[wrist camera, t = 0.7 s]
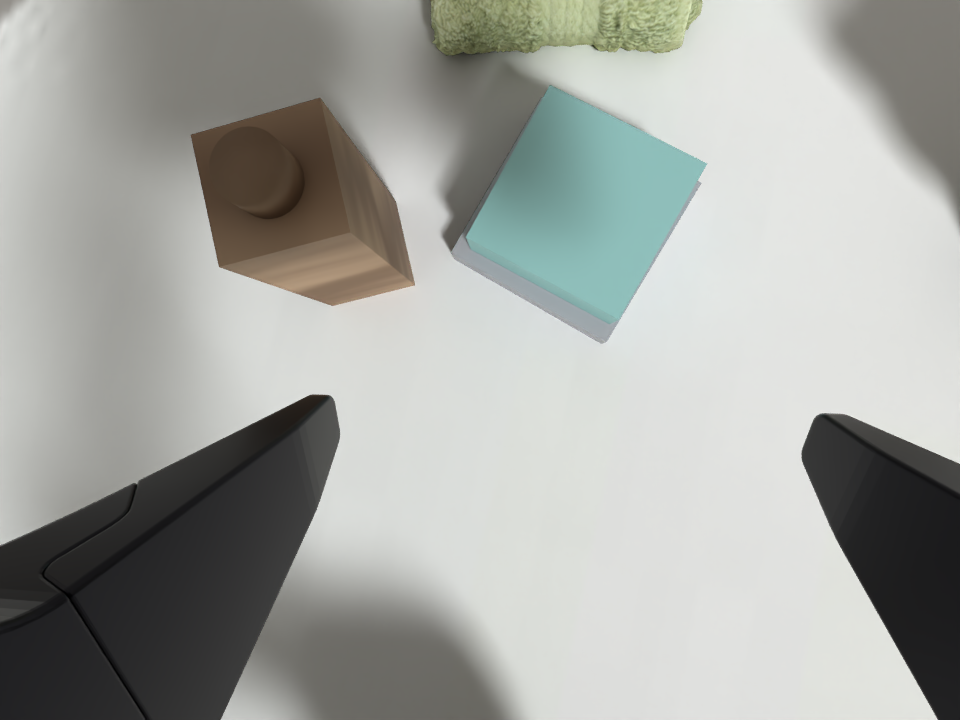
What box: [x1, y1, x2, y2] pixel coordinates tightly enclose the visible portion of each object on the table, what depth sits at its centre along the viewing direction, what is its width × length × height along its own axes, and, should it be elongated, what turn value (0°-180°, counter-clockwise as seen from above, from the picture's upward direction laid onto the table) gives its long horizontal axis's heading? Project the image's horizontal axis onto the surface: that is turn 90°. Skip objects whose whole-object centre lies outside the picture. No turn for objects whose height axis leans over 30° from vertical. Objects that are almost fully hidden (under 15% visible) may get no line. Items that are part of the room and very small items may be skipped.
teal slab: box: [466, 85, 707, 324], centre depth 20 cm, size 7×7×2 cm
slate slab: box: [451, 97, 701, 343], centre depth 22 cm, size 8×8×2 cm
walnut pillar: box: [191, 98, 415, 306], centre depth 18 cm, size 4×4×10 cm
